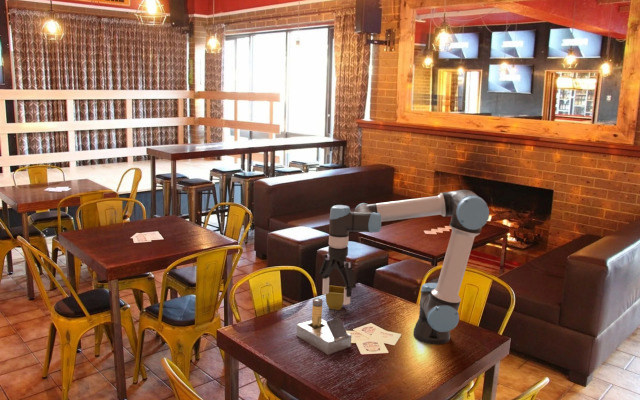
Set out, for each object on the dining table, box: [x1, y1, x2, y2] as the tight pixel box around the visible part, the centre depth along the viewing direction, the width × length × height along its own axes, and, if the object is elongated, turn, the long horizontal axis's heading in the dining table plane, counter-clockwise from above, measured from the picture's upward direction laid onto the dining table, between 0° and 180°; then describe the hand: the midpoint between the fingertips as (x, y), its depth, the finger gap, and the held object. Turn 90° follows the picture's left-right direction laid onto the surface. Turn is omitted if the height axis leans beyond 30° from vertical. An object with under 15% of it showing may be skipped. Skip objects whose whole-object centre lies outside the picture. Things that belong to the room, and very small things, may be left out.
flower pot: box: [325, 285, 346, 311], centre depth 264 cm, size 9×9×9 cm
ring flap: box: [326, 317, 349, 342], centre depth 222 cm, size 9×7×1 cm
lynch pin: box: [311, 297, 324, 329], centre depth 232 cm, size 4×4×16 cm
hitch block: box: [296, 318, 353, 355], centre depth 230 cm, size 20×12×5 cm, turn 40°
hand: (335, 298), depth 222 cm, fingers open, 12 cm apart
